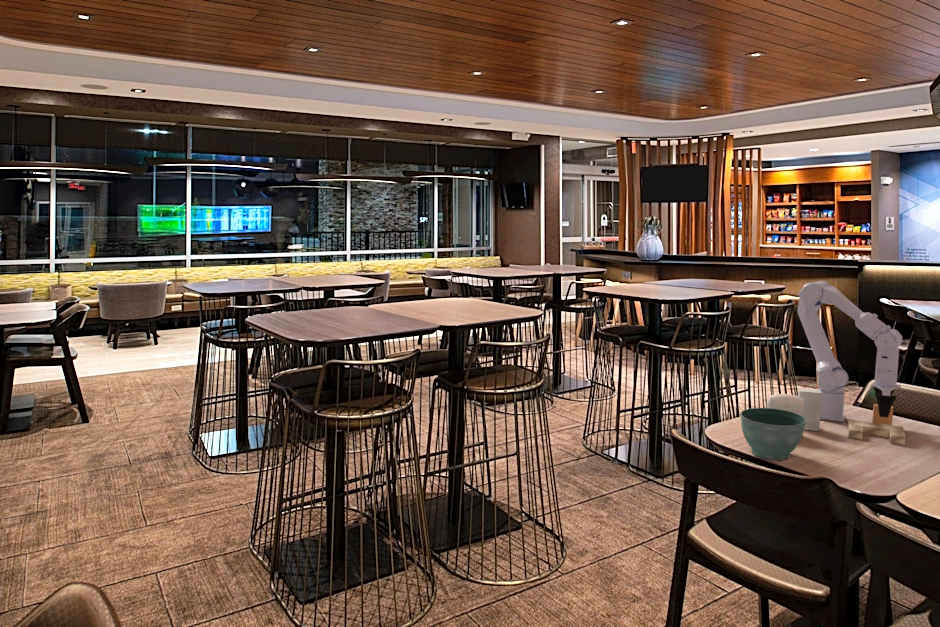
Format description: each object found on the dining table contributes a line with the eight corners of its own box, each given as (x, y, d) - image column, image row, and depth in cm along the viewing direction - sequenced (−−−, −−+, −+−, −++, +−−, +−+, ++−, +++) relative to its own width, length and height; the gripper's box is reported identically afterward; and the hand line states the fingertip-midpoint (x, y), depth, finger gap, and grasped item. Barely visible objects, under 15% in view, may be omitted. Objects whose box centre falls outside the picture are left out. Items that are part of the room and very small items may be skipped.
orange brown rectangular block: (872, 428, 211) (874, 406, 210) (871, 425, 214) (873, 403, 213) (891, 430, 209) (893, 408, 208) (890, 428, 211) (892, 405, 210)
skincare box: (817, 427, 212) (820, 389, 210) (819, 431, 208) (822, 392, 206) (795, 425, 214) (798, 387, 212) (797, 429, 210) (799, 391, 208)
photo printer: (801, 434, 205) (804, 393, 204) (803, 438, 201) (806, 397, 200) (763, 431, 208) (766, 391, 207) (765, 435, 204) (767, 394, 203)
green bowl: (803, 469, 178) (806, 428, 176) (736, 459, 184) (738, 420, 183) (802, 449, 192) (805, 411, 191) (740, 441, 199) (742, 405, 197)
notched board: (848, 438, 202) (849, 429, 201) (848, 427, 211) (848, 419, 211) (904, 445, 195) (905, 436, 195) (901, 434, 205) (902, 426, 205)
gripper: (904, 376, 200) (900, 421, 202) (900, 366, 213) (896, 409, 215) (875, 373, 204) (872, 418, 206) (873, 364, 216) (870, 406, 218)
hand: (883, 413), depth 210 cm, fingers open, 7 cm apart
